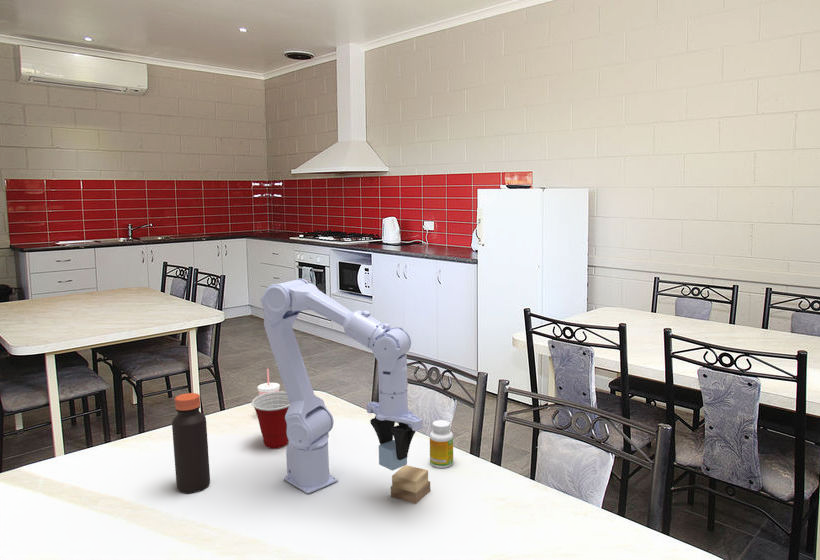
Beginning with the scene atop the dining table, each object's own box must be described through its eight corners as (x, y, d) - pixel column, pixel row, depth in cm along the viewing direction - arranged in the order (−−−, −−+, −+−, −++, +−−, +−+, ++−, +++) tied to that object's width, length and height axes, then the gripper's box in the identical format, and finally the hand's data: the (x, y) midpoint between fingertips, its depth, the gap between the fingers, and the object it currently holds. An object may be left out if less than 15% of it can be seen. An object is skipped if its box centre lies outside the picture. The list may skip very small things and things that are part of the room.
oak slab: (392, 487, 120) (391, 475, 119) (405, 475, 124) (404, 464, 124) (415, 493, 117) (415, 481, 117) (428, 481, 122) (428, 470, 122)
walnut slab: (390, 498, 120) (390, 486, 120) (405, 485, 125) (405, 474, 125) (416, 505, 117) (415, 494, 117) (430, 492, 122) (430, 481, 122)
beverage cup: (255, 419, 163) (252, 371, 161) (264, 412, 169) (261, 365, 167) (276, 421, 162) (273, 372, 160) (284, 413, 168) (282, 365, 166)
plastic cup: (248, 453, 142) (245, 406, 140) (261, 435, 152) (259, 391, 151) (292, 453, 141) (290, 406, 139) (302, 435, 152) (300, 391, 150)
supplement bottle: (451, 469, 132) (451, 428, 130) (428, 467, 133) (427, 426, 131) (454, 459, 137) (454, 419, 135) (431, 457, 138) (431, 418, 137)
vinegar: (197, 475, 131) (191, 389, 128) (216, 483, 127) (211, 395, 124) (170, 488, 125) (163, 398, 122) (189, 497, 121) (182, 404, 118)
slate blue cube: (379, 464, 118) (378, 445, 117) (393, 458, 120) (393, 439, 120) (392, 470, 115) (391, 451, 114) (407, 464, 118) (406, 445, 117)
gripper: (354, 386, 118) (356, 450, 120) (403, 403, 108) (404, 473, 110) (380, 378, 123) (382, 440, 125) (429, 394, 113) (430, 461, 115)
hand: (394, 454), depth 118 cm, fingers closed on slate blue cube, 4 cm apart
